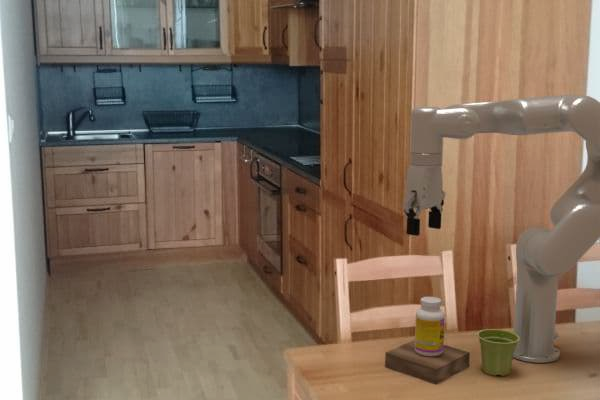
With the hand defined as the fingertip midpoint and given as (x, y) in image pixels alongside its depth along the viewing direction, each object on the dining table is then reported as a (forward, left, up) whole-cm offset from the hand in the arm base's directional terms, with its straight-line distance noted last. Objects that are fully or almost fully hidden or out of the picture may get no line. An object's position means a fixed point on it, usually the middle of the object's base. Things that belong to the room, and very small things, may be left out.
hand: (424, 231), depth 180 cm
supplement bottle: (+5, +6, -27) cm, 29 cm away
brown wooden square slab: (+5, +6, -31) cm, 32 cm away
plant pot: (-4, +19, -31) cm, 36 cm away
